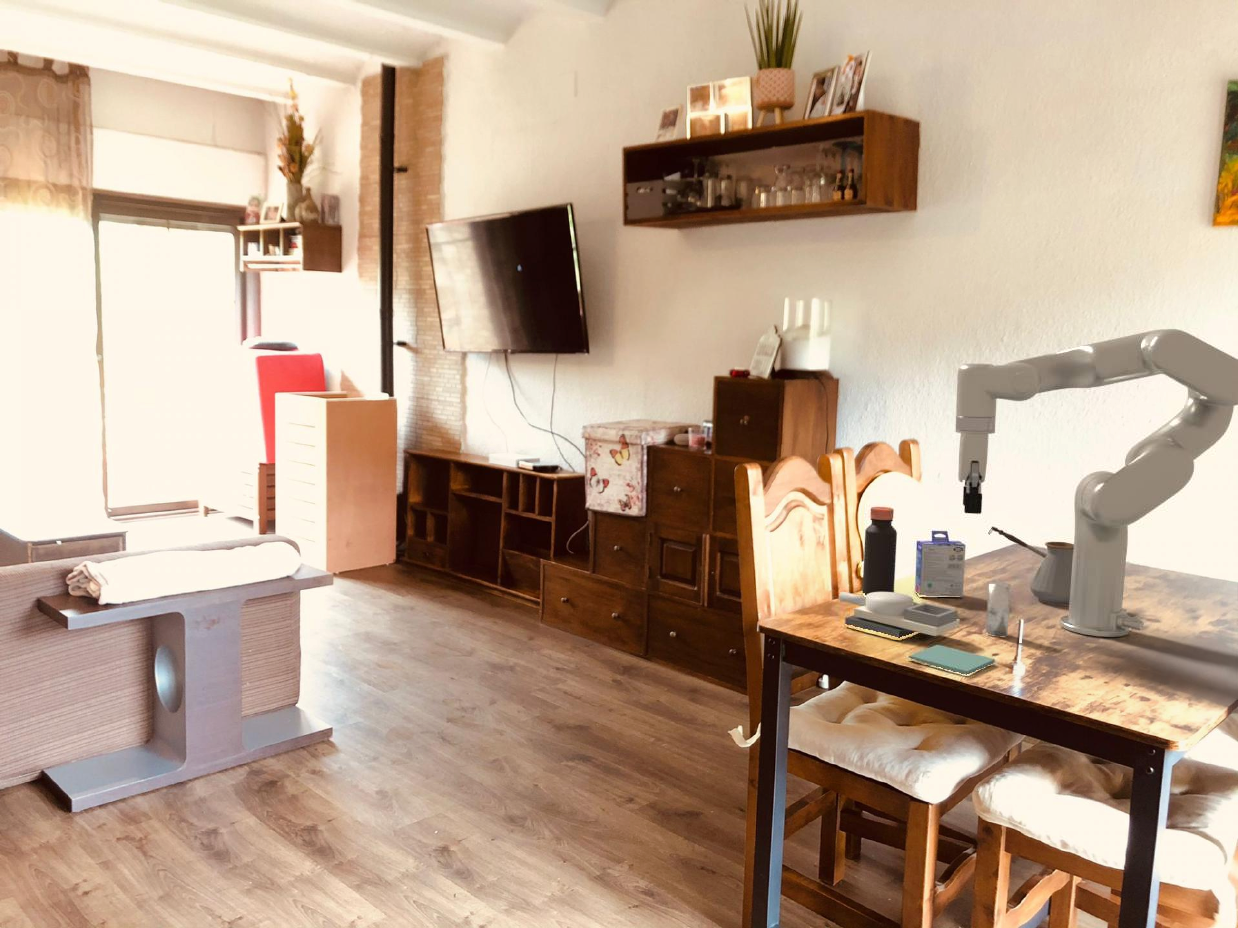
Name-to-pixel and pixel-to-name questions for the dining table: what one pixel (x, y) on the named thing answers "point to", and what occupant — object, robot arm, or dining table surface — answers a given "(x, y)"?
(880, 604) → the white handled tool
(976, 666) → the key mat
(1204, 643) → the dining table surface
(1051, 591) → the coffee pot
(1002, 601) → the grey piece
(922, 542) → the ink cartridge box
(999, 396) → the robot arm
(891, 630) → the dark gray sponge cloth
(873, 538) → the bottle
